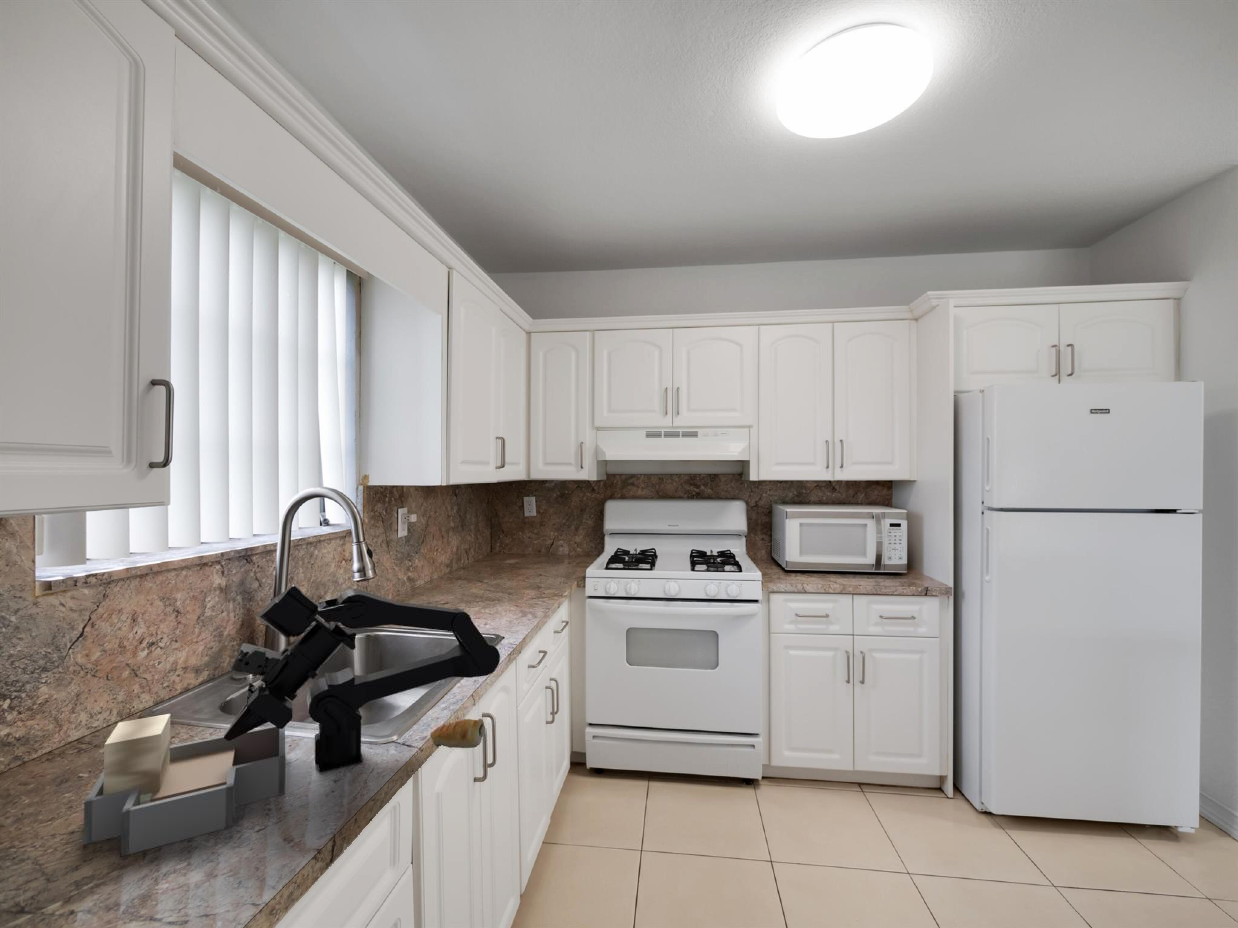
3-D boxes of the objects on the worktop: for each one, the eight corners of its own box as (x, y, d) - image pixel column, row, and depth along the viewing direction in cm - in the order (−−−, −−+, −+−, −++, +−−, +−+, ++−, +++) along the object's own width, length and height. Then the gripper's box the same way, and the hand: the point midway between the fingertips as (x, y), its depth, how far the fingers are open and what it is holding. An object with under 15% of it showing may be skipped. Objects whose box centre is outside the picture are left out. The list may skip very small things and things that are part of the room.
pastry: (425, 750, 98) (425, 728, 98) (437, 733, 104) (437, 712, 105) (479, 749, 98) (479, 728, 98) (487, 732, 105) (487, 712, 105)
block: (169, 765, 85) (170, 713, 86) (159, 790, 79) (160, 733, 79) (117, 776, 82) (119, 722, 83) (103, 803, 75) (104, 744, 76)
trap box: (284, 755, 96) (284, 723, 96) (285, 812, 79) (285, 772, 79) (110, 794, 84) (111, 757, 84) (69, 870, 68) (70, 824, 68)
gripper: (269, 613, 97) (189, 689, 91) (266, 639, 81) (169, 733, 75) (319, 650, 101) (246, 726, 95) (327, 682, 85) (239, 776, 79)
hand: (226, 738), depth 86 cm, fingers closed
